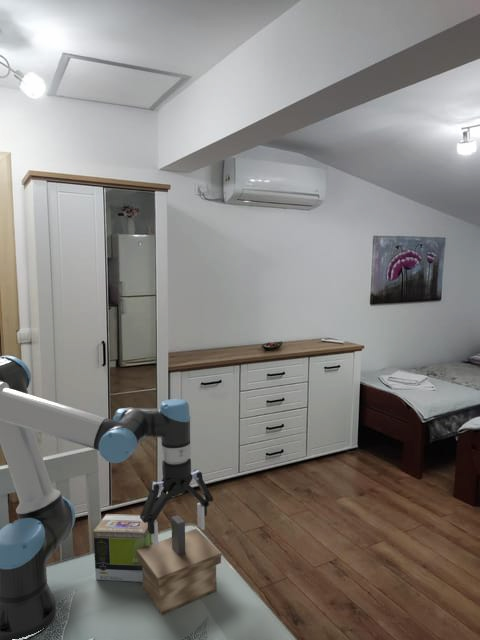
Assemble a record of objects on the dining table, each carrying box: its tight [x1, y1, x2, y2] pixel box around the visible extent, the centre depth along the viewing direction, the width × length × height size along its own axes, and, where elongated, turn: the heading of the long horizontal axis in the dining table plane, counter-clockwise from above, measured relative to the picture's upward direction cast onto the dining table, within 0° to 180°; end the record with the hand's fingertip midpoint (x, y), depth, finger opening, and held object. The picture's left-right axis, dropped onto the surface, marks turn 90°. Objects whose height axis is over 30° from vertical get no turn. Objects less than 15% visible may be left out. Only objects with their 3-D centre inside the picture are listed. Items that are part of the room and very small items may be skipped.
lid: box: [137, 514, 222, 588], centre depth 126 cm, size 18×14×12 cm
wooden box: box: [142, 565, 218, 616], centre depth 127 cm, size 16×12×10 cm
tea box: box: [92, 513, 153, 583], centre depth 135 cm, size 15×10×15 cm
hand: (178, 535), depth 126 cm, fingers open, 13 cm apart
